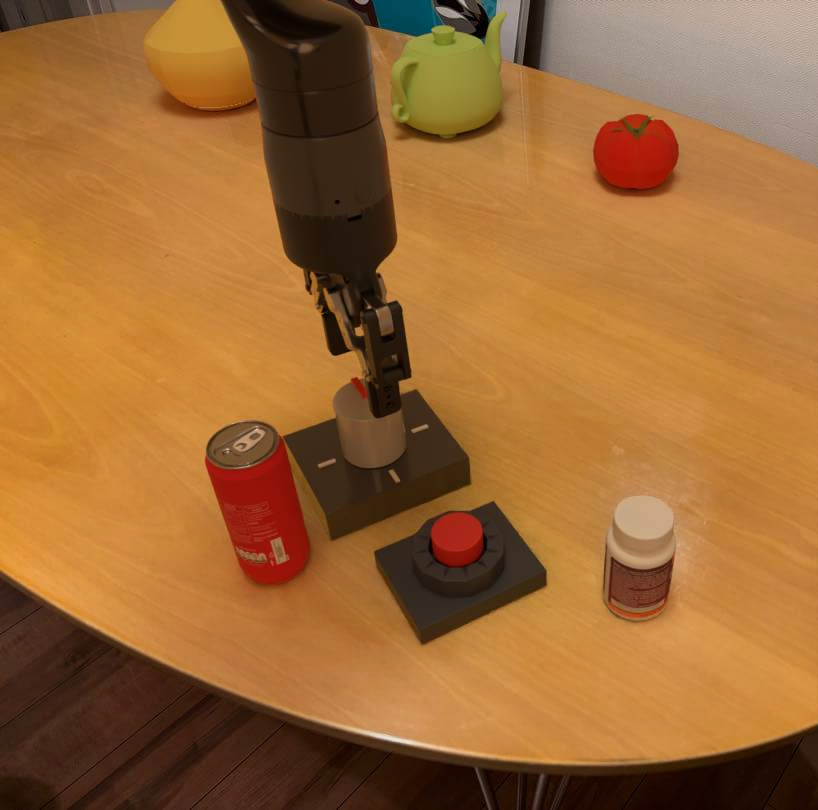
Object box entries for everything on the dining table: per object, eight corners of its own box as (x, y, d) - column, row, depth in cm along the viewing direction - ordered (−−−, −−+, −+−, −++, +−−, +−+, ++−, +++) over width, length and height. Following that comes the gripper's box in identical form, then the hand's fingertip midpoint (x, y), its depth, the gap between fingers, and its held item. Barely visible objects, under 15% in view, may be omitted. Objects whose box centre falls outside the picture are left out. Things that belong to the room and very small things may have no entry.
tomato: (623, 154, 120) (627, 100, 115) (691, 179, 114) (698, 122, 109) (573, 181, 113) (575, 125, 109) (642, 208, 108) (647, 150, 103)
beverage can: (226, 568, 65) (184, 450, 58) (279, 524, 69) (246, 407, 61) (275, 600, 63) (238, 482, 55) (327, 554, 66) (299, 436, 59)
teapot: (475, 85, 138) (471, -3, 130) (544, 112, 131) (545, 19, 122) (362, 127, 126) (350, 32, 118) (432, 158, 118) (423, 59, 110)
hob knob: (417, 453, 70) (411, 403, 67) (356, 477, 68) (346, 426, 65) (391, 416, 74) (384, 366, 70) (332, 438, 72) (321, 387, 68)
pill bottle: (680, 609, 63) (694, 530, 57) (620, 631, 61) (628, 552, 56) (648, 561, 66) (658, 482, 61) (591, 581, 65) (595, 501, 59)
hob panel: (331, 541, 67) (324, 512, 65) (288, 462, 74) (281, 434, 72) (471, 483, 72) (469, 455, 70) (419, 414, 79) (416, 387, 77)
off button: (446, 575, 61) (444, 558, 60) (424, 540, 63) (422, 524, 62) (492, 554, 62) (491, 538, 61) (469, 521, 65) (468, 505, 64)
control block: (421, 645, 60) (417, 614, 58) (376, 566, 66) (370, 534, 63) (547, 585, 64) (547, 554, 62) (494, 515, 70) (493, 483, 67)
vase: (141, 123, 127) (98, -20, 115) (180, 77, 141) (145, -55, 129) (269, 123, 127) (239, -20, 115) (294, 76, 141) (271, -55, 129)
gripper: (240, 154, 59) (285, 347, 70) (313, 248, 50) (352, 454, 61) (345, 130, 62) (373, 319, 73) (433, 215, 53) (450, 417, 64)
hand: (364, 380), depth 67 cm, fingers open, 8 cm apart
